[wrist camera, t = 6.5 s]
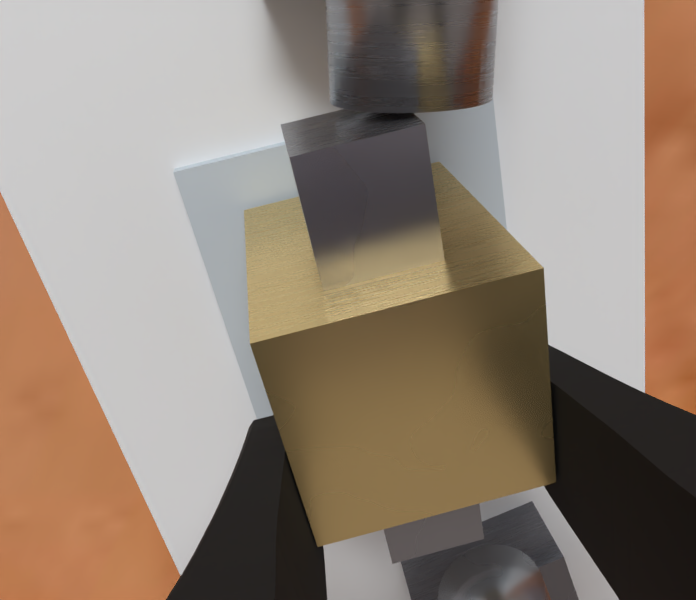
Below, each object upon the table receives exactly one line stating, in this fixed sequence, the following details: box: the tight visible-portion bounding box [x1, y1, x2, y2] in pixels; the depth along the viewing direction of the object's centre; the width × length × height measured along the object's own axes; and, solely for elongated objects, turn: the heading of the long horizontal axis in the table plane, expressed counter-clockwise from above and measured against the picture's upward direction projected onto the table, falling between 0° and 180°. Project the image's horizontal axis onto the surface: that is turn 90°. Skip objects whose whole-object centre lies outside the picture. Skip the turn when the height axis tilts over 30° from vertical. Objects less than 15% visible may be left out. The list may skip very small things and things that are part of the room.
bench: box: [0, 0, 645, 600], centre depth 15 cm, size 13×25×1 cm, turn 12°
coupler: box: [244, 109, 556, 564], centre depth 12 cm, size 4×8×5 cm, turn 12°
